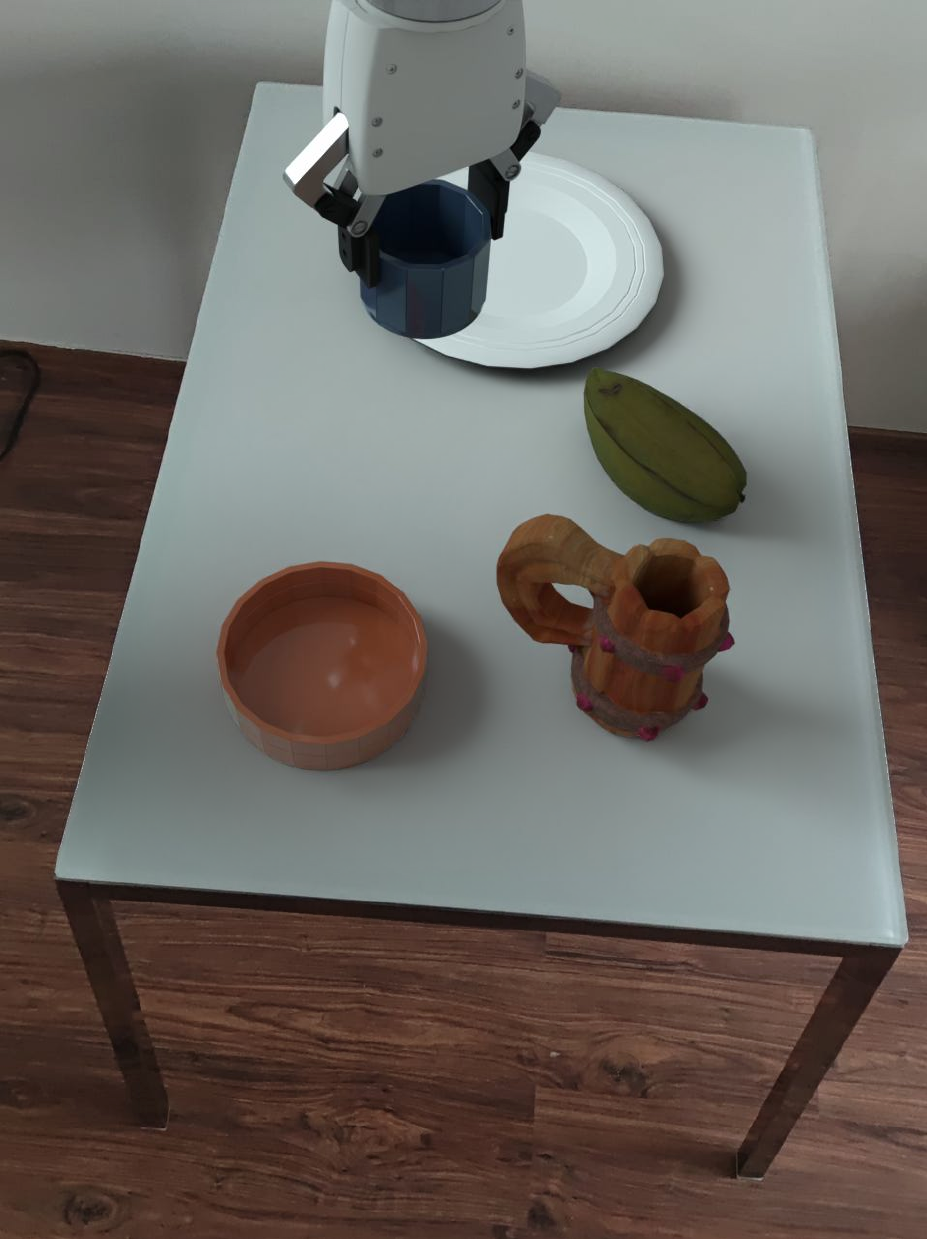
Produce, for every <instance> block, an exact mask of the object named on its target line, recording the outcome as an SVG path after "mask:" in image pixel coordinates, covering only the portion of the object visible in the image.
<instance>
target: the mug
mask: <svg viewBox="0 0 927 1239" xmlns="http://www.w3.org/2000/svg"><path fill="white" fill-rule="evenodd" d="M495 569H496V571H495V572H496V574H495V575H496V576H495V577H496V586H497V591H498V593H499V597H500V601H501V603H502V605H503V607H504V608H505V609H506V611H507V612H508V614H509V615H510V616H511V618H512V620H513V621H514V622H515V623H516V624H517V625H518V626H519V627H520V629H522V630H523V631H524V632H525V634H526V635H528V636H529V637H530V638H531V639H532V641H533V642H537V643H540V644H547V645H548V644H549V645H550V644H551V645H561V646H567V649H568V652H569V653H571V654H572V655H571V662H570V680H571V690H572V693H573V695H574V698H575V705H576V707H577V708H578V709H579V710H580V711H582V712H583V713H584V714H585V715H586V716H587V717H589V718H590V719H591V720H593V721H594V722H595V723H596V725H599V726H600V728H602V729H604V730H606V731H608V732H609V733H612V734H614V735H616V736H619V737H620V736H621V737H625V738H633V737H638V736H639V738H640V739H641V741H643V742H646V743H648V742H654V741H655V740H656V739H657V738H658V737H659V734H660V733H662V732H664V731H667V730H669V729H671V728H672V727H674V726H676V725H678V723H680V722H682V721H683V720H684V719H685V718H686V717H687V716H688V715H689V714H690V713H691V712H692V711H701V710H703V709H705V708H706V707H707V705H708V701H709V697H708V696H707V695H706V694H705V692H704V691H703V683H704V673H703V670H704V668H705V665H707V664H708V663H709V662H710V661H711V660H713V659H714V658H715V657H716V655H717V654H718V653H723V652H726V651H728V650H731V648H732V647H733V646H734V645H735V644H736V642H735V639H734V636H733V635H732V632H730V631H729V628H730V622H731V619H730V611H729V607H728V604H727V599H728V596H729V593H730V591H731V587H730V582H729V578H728V576H727V573H726V572H725V570H724V569H723V567H722V566H721V564H720V563H719V562H718V560H717V559H715V557H713V556H707V555H703V554H701V553H700V551H699V549H698V548H697V546H696V545H695V544H693V543H691V542H688V541H687V540H685V539H678V538H673V537H660V538H656V539H654V540H653V541H652V542H651V543H650V544H649V545H645V544H642V543H639V544H635V545H634V546H632V547H631V548H630V549H629V550H628V551H626V553H625V554H622V553H619V552H616V551H614V550H612V549H609V548H607V547H606V546H604V545H603V544H600V543H598V541H597V540H596V539H594V538H593V537H592V536H591V535H590V534H589V533H587V531H585V530H584V528H582V527H581V526H580V525H578V523H576V522H575V521H573V520H572V519H571V518H568V517H565V516H564V515H560V514H559V515H558V514H552V513H551V514H550V513H544V514H542V515H538V516H534V517H532V518H530V519H528V520H525V521H524V522H522V523H520V524H519V525H518V526H517V527H516V528H515V529H514V530H513V531H512V532H511V533H510V536H509V538H508V540H507V542H506V544H505V546H504V547H503V549H502V551H501V553H500V554H499V557H498V559H497V562H496V568H495ZM553 584H560V585H563V586H578V587H582V588H584V589H586V590H587V591H588V593H589V594H590V596H591V598H592V599H593V604H592V608H591V607H588V606H584V605H581V604H576V603H573V602H571V601H570V600H568V599H567V598H566V597H565V596H563V595H562V594H561V593H560V592H559V591H558V590H557V589H556V588H555V586H554V585H553Z"/></svg>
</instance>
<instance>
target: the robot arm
mask: <svg viewBox="0 0 927 1239" xmlns="http://www.w3.org/2000/svg"><path fill="white" fill-rule="evenodd" d="M524 13H525V12H524V4H523V0H332V1H331V5H330V9H329V15H328V22H327V28H326V34H325V35H326V36H325V45H324V57H323V60H324V61H323V77H322V80H323V81H322V129H321V130H320V132H318V134H317V135H316V136H315V137H314V138H313V139H312V140H311V141H310V142H309V144H308V145H307V146H305V148H304V149H303V150H302V151H301V152H300V153H299V154H298V156H296V157H295V159H294V160H293V161H292V162H291V163H290V164H289V165H288V166H287V167H286V168H285V170H284V172H283V173H282V180H283V181H284V182H285V184H286V185H287V187H288V188H289V189H290V190H291V192H292V193H293V194H294V196H296V197H297V198H298V199H299V200H300V201H302V202H303V203H305V204H306V206H308V207H309V208H311V209H313V210H314V211H315V212H317V213H318V215H319V216H320V218H322V219H324V220H326V221H328V222H330V223H332V224H334V225H337V238H338V239H337V241H338V242H337V243H338V254H339V258H340V260H341V263H342V264H343V267H344V268H345V269H346V270H347V271H348V273H353V272H354V273H355V274H356V275H357V276H358V278H359V280H360V279H361V280H362V281H363V283H364V284H365V285H366V287H367V288H368V289H371V288H373V287H376V286H378V283H380V247H379V234H378V231H377V230H376V229H375V227H374V226H373V225H372V222H373V220H374V218H375V217H376V215H377V213H378V211H379V209H380V207H381V205H382V203H383V201H384V199H385V197H386V196H387V194H390V193H394V192H397V191H401V190H404V189H407V188H410V187H412V186H415V185H418V184H421V183H424V182H427V181H430V180H432V179H435V178H438V177H441V176H444V175H446V174H449V173H452V172H455V171H457V170H460V169H463V168H465V167H468V166H469V173H468V189H467V190H469V191H471V192H472V193H474V195H475V196H476V197H477V198H478V199H479V200H480V202H481V203H482V204H483V205H484V206H485V207H486V209H487V210H488V211H489V212H490V216H491V239H492V240H494V241H495V240H497V239H500V238H502V237H503V233H504V222H505V214H506V213H507V209H508V199H509V188H510V181H512V180H514V179H515V178H517V176H518V175H519V174H520V172H521V165H520V163H519V162H520V161H521V160H522V158H523V157H524V156H525V155H526V154H527V152H530V150H531V149H532V148H533V147H534V145H535V144H536V142H537V141H538V140H539V139H540V137H541V135H542V128H541V127H542V126H543V125H545V124H546V123H547V122H548V120H549V118H551V116H552V114H553V113H554V111H555V109H557V106H558V105H559V103H560V101H561V100H562V92H561V91H560V90H559V88H557V87H556V85H554V83H553V82H552V81H551V80H549V78H547V77H544V76H542V75H540V74H538V73H536V72H534V71H532V70H530V69H527V49H526V48H527V40H526V25H525V24H526V23H525V22H526V21H525V14H524ZM346 156H347V157H346ZM344 158H346V159H345V161H344V163H343V165H342V167H341V169H340V171H339V173H338V175H337V177H336V179H335V181H334V183H333V185H332V186H331V185H329V184H328V183H327V182H324V181H325V179H326V177H327V176H329V174H330V173H332V171H333V170H334V169H335V168H336V167H337V166H338V165H339V164H340V163H341V162H342V161H343V159H344ZM358 189H359V191H360V195H359V197H358V198H357V199H356V198H354V197H355V195H356V193H357V191H358Z"/></svg>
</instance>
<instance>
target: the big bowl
mask: <svg viewBox="0 0 927 1239" xmlns="http://www.w3.org/2000/svg"><path fill="white" fill-rule="evenodd" d="M419 613H420V612H418V610H417V609H416V607H415V606H414V605H413V603H412V602H411V600H410V598H409V597H408V595H407V594H406V592H404V591H403V590H402V589H400V588H399V587H398V586H396V585H395V584H393V582H391V581H390V580H389V579H387V578H385V576H383V575H381V574H379V573H378V572H374V571H372V570H369V569H366V568H364V567H361V566H359V565H356V564H353V563H348V562H336V561H327V560H326V561H325V560H317V561H312V562H307V563H300V564H295V565H290V566H287V567H285V568H282V569H280V570H278V571H276V572H273V573H271V574H270V575H267V576H265V577H263V578H261V579H260V580H258V581H257V582H256V583H254V584H253V586H251V587H250V588H249V589H248V590H247V591H245V592H244V594H242V595H241V596H240V597H238V599H237V600H236V601H235V603H234V604H233V606H232V608H231V610H230V611H229V612H228V614H227V616H226V617H225V620H224V621H223V623H222V624H221V627H220V632H219V637H218V641H217V647H216V651H215V653H216V654H215V657H216V663H217V669H218V670H217V671H218V675H219V681H220V685H221V686H220V687H221V690H222V694H223V698H224V700H225V705H226V709H227V710H228V712H229V714H230V716H231V718H232V721H233V723H234V724H235V726H236V728H237V729H238V730H239V731H240V733H241V735H242V736H243V737H244V738H245V739H246V740H247V741H248V742H249V743H250V744H251V745H252V746H253V747H255V748H256V749H257V750H258V751H259V752H260V753H263V754H264V755H265V756H267V757H269V758H271V759H272V760H275V761H277V762H279V763H281V764H284V765H287V766H291V767H293V768H298V769H304V770H311V771H312V770H313V771H331V770H332V771H333V770H340V769H345V768H351V767H355V766H356V765H359V764H363V763H365V762H367V761H369V760H372V759H374V758H376V757H378V756H379V755H381V754H382V753H384V752H385V751H387V750H388V749H390V748H391V747H392V746H393V745H394V744H396V743H397V742H398V741H399V740H400V739H401V738H402V737H403V736H404V735H405V734H406V733H407V731H408V730H409V728H410V727H411V725H412V724H413V723H414V721H415V719H416V717H417V716H418V713H419V712H420V709H421V706H422V703H423V700H424V697H425V690H426V678H427V670H428V669H427V667H428V649H429V644H428V639H427V635H426V631H425V627H424V624H423V619H422V617H421V615H420V614H419Z"/></svg>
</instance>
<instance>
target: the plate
mask: <svg viewBox="0 0 927 1239" xmlns="http://www.w3.org/2000/svg"><path fill="white" fill-rule="evenodd" d="M519 163H520V165H521V172H520V174H519V175H518V176H517V178H515V179H514V180H512V181H510V188H509V199H508V209H507V213H506V214H505V222H504V233H503V237H502V238H500V239H497V240H495V241H494V240H492V239H491V247H490V258H489V270H488V281H487V293H486V300H485V302H484V305H483V308H482V310H481V312H480V314H479V315H478V317H477V318H476V319H475V320H474V321H473V323H471V324H470V325H469V326H468V327H466V328H465V329H463V330H462V331H459V332H457V333H455V334H453V335H450V336H447V337H442V338H437V339H413V338H409V339H410V340H411V341H414V342H415V343H418V344H419V345H422V346H424V347H425V348H428V349H430V350H432V351H434V352H436V353H437V354H440V355H441V356H444V357H446V358H450V359H453V360H458V361H461V362H465V363H468V364H473V365H477V366H481V367H485V368H493V369H494V368H495V369H508V370H509V369H511V370H525V371H526V370H529V371H531V370H538V369H544V368H552V367H559V366H565V365H566V366H567V365H572V364H575V363H577V362H580V361H583V360H585V359H588V358H591V357H594V356H596V355H598V354H601V353H603V352H606V351H608V350H610V349H612V348H613V347H614V346H615V345H617V344H618V343H620V342H621V341H622V340H624V339H625V338H627V337H628V336H629V335H631V334H632V333H634V332H635V331H637V329H638V328H639V327H640V326H641V324H642V323H643V321H644V320H645V319H646V317H647V316H648V315H649V313H650V312H651V311H652V310H653V308H654V306H655V305H656V303H657V300H658V296H659V293H660V289H661V287H662V283H663V281H664V276H665V270H664V260H663V246H662V244H661V242H660V240H659V237H658V235H657V233H656V231H655V229H654V226H653V224H652V222H651V220H650V218H649V217H648V216H647V215H646V213H645V212H644V211H643V210H642V209H641V208H640V206H638V204H636V202H635V201H634V200H633V198H631V197H630V195H629V194H627V193H626V192H624V191H623V190H621V189H620V188H619V187H618V186H616V185H614V184H613V183H612V182H611V181H609V180H608V179H606V178H605V177H604V176H602V175H601V174H598V173H596V172H594V171H591V170H589V169H587V168H584V167H582V166H580V165H578V164H576V163H573V162H571V161H569V160H566V159H562V158H558V157H554V156H550V155H545V154H541V153H537V152H533V151H528V152H527V154H526V155H525V156H524V157H523V158H522V160H521V161H520V162H519ZM468 173H469V166H468V167H465V168H463V169H460V170H457V171H455V172H452V173H449V174H446V175H444V176H441V177H438V178H435V179H441V180H445V181H447V182H450V183H452V184H455V185H457V186H459V187H462V188H464V189H468Z"/></svg>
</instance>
